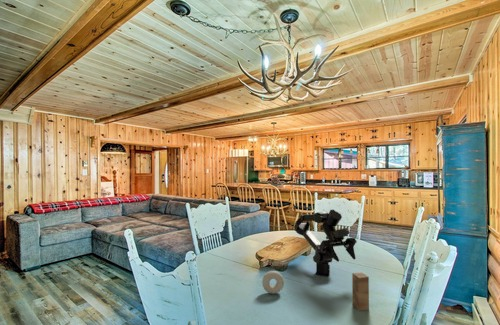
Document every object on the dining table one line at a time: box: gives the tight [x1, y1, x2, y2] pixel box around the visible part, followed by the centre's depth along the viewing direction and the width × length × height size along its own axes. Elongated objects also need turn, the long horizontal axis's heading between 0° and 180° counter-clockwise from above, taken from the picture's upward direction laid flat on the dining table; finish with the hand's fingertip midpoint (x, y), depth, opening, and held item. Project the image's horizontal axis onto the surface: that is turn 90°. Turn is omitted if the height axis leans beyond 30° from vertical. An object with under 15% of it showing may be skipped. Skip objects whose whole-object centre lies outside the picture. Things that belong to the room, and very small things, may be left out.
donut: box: [261, 270, 285, 295], centre depth 112 cm, size 10×4×10 cm, turn 92°
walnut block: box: [351, 271, 370, 312], centre depth 101 cm, size 4×4×13 cm
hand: (346, 260), depth 115 cm, fingers open, 9 cm apart
